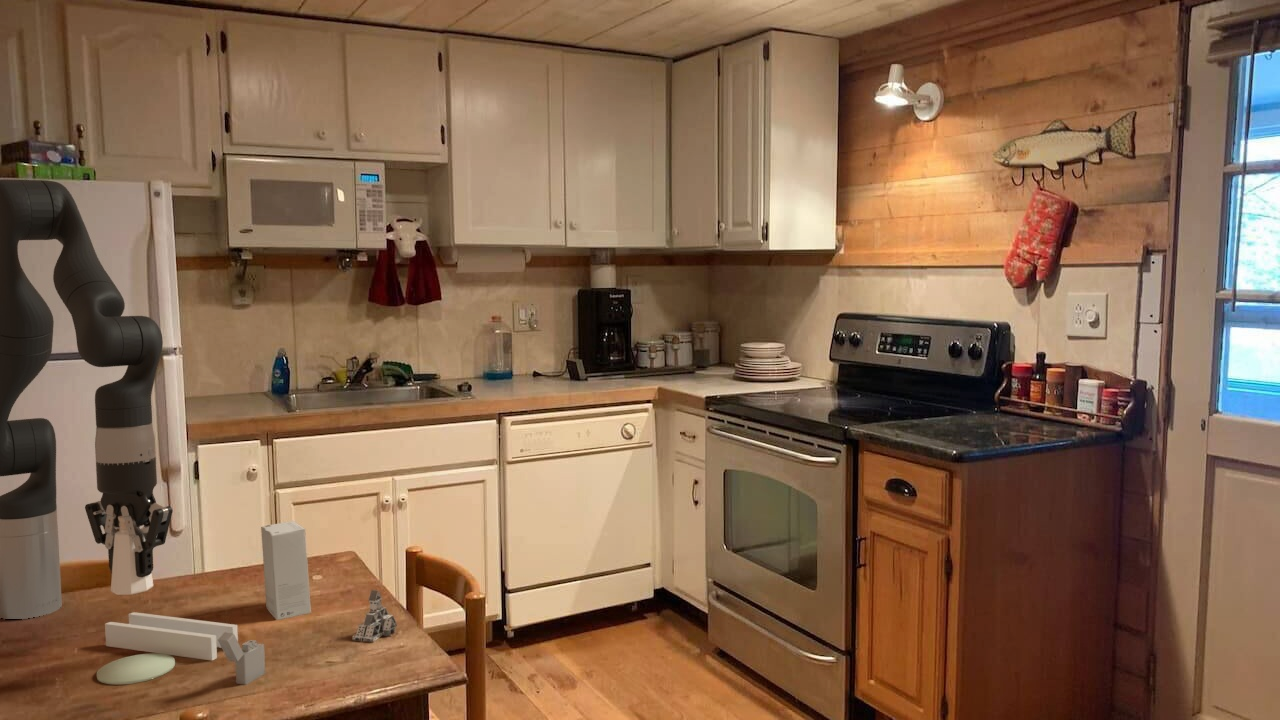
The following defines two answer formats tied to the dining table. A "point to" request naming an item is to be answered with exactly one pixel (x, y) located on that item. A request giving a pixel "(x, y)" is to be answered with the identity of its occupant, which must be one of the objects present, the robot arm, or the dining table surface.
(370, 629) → the house of cards
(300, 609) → the skincare box
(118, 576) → the pepper shaker
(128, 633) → the low walls
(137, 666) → the pad
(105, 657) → the dining table surface
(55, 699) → the dining table surface
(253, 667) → the lighter
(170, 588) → the dining table surface
